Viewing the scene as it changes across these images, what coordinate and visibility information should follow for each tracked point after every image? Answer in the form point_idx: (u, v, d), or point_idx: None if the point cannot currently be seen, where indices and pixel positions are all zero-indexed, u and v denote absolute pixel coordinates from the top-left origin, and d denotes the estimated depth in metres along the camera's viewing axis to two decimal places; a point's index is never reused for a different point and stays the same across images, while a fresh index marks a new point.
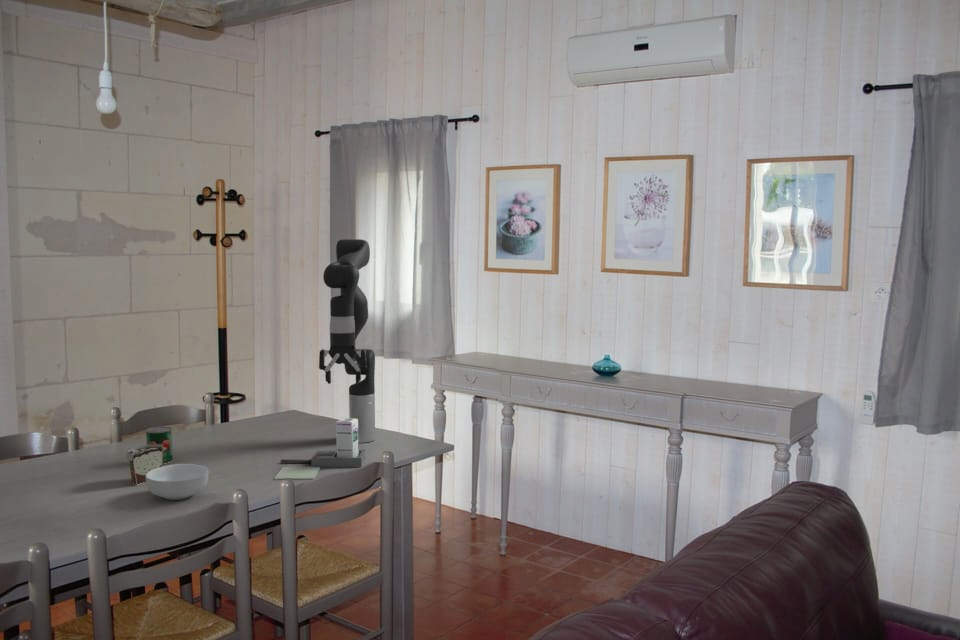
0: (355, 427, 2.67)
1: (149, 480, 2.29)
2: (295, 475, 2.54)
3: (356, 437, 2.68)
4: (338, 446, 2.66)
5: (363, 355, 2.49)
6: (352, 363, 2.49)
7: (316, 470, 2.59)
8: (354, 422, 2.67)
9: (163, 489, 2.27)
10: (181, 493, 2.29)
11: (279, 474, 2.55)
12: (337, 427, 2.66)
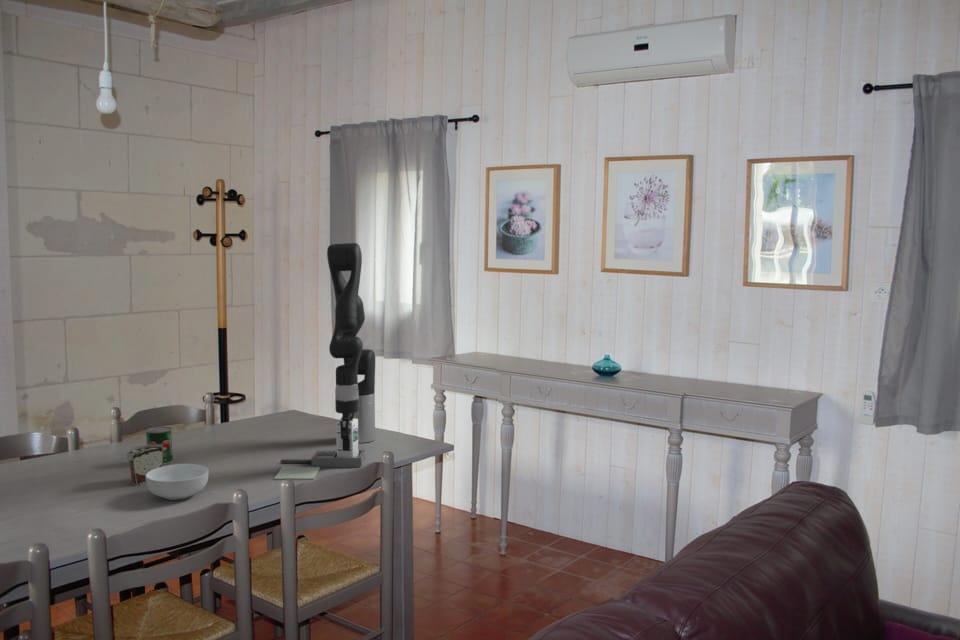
0: (355, 427, 2.67)
1: (149, 480, 2.29)
2: (295, 475, 2.54)
3: (356, 436, 2.68)
4: (338, 446, 2.66)
5: (353, 417, 2.74)
6: None
7: (316, 470, 2.59)
8: (354, 422, 2.67)
9: (163, 489, 2.27)
10: (181, 493, 2.29)
11: (279, 474, 2.55)
12: (337, 427, 2.66)
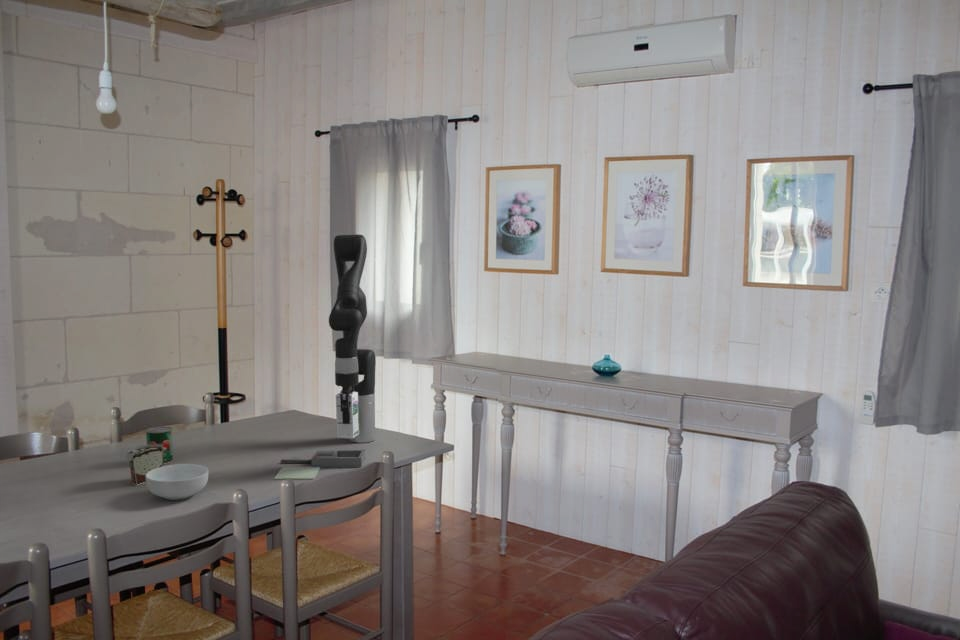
0: (355, 400, 2.66)
1: (149, 480, 2.29)
2: (295, 475, 2.54)
3: (356, 410, 2.67)
4: (338, 419, 2.65)
5: (353, 390, 2.73)
6: None
7: (316, 470, 2.59)
8: (354, 395, 2.66)
9: (163, 489, 2.27)
10: (181, 493, 2.29)
11: (279, 474, 2.55)
12: (337, 400, 2.65)
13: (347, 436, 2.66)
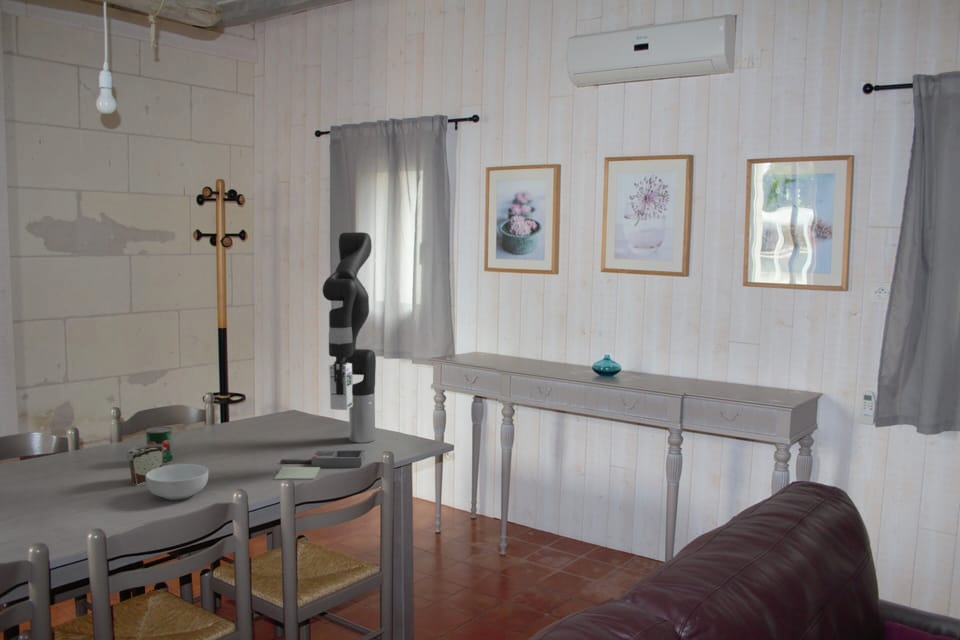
0: (349, 371, 2.64)
1: (149, 480, 2.29)
2: (295, 475, 2.54)
3: (350, 381, 2.65)
4: (332, 390, 2.63)
5: None
6: None
7: (316, 470, 2.59)
8: (348, 366, 2.63)
9: (163, 489, 2.27)
10: (181, 493, 2.29)
11: (279, 474, 2.55)
12: (331, 371, 2.62)
13: (341, 407, 2.63)
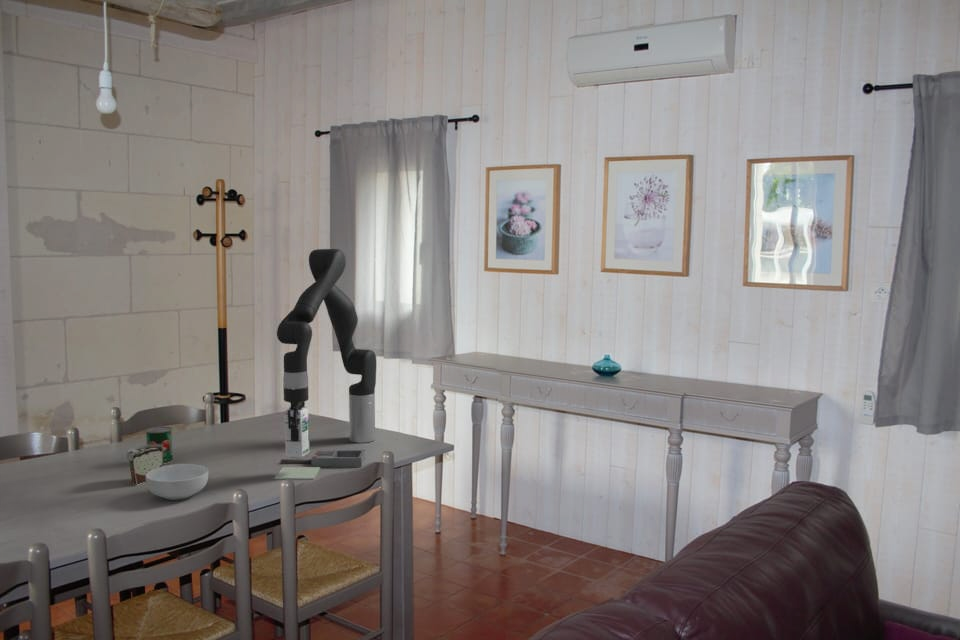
0: (304, 416, 2.55)
1: (149, 480, 2.29)
2: (295, 475, 2.54)
3: (305, 427, 2.55)
4: (286, 436, 2.54)
5: (304, 406, 2.61)
6: None
7: (316, 470, 2.59)
8: (303, 411, 2.54)
9: (163, 489, 2.27)
10: (181, 493, 2.29)
11: (279, 474, 2.55)
12: (285, 416, 2.53)
13: (296, 454, 2.54)
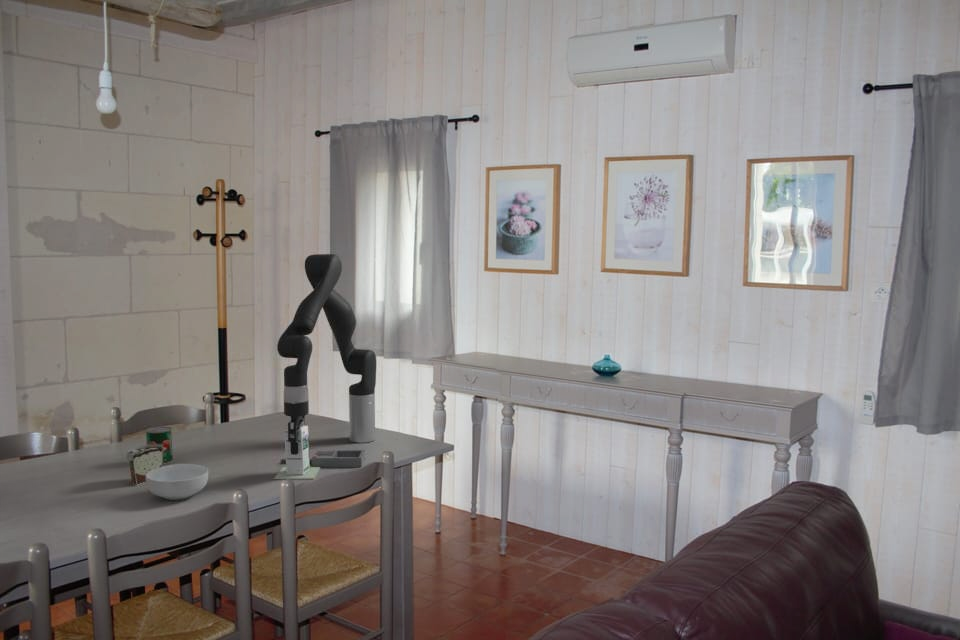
0: (305, 434, 2.55)
1: (149, 480, 2.29)
2: (295, 475, 2.54)
3: (306, 444, 2.56)
4: (287, 455, 2.54)
5: (304, 418, 2.62)
6: None
7: (316, 470, 2.59)
8: (304, 429, 2.55)
9: (163, 489, 2.27)
10: (181, 493, 2.29)
11: (279, 474, 2.55)
12: (286, 435, 2.54)
13: (297, 472, 2.54)
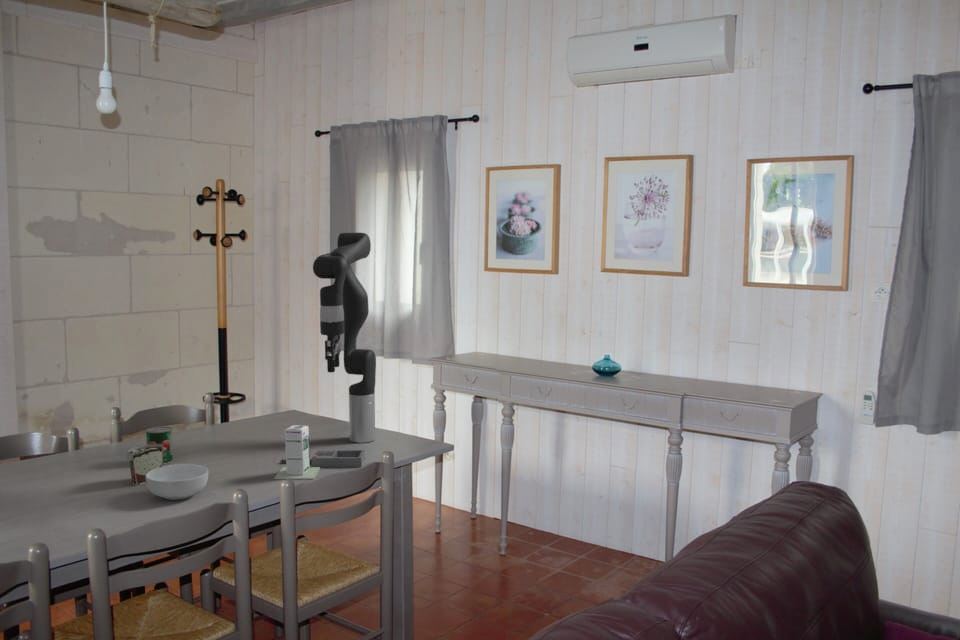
0: (305, 434, 2.55)
1: (149, 480, 2.29)
2: (295, 475, 2.54)
3: (306, 445, 2.56)
4: (287, 455, 2.54)
5: (339, 339, 2.68)
6: (339, 348, 2.65)
7: (316, 470, 2.59)
8: (304, 429, 2.55)
9: (163, 489, 2.27)
10: (181, 493, 2.29)
11: (279, 474, 2.55)
12: (286, 435, 2.53)
13: (297, 472, 2.54)
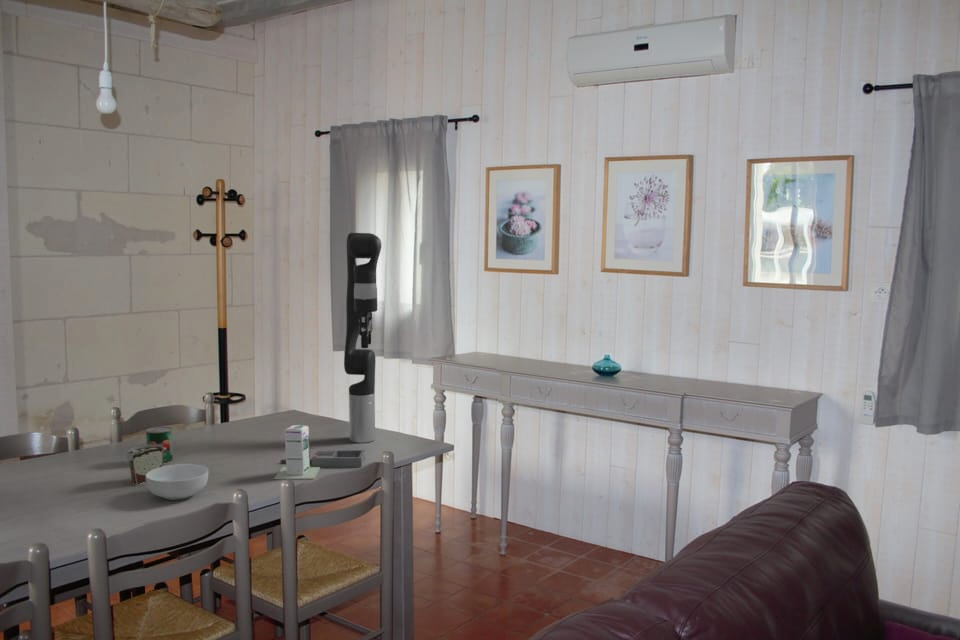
0: (305, 434, 2.55)
1: (149, 480, 2.29)
2: (295, 475, 2.54)
3: (306, 445, 2.56)
4: (287, 455, 2.54)
5: (371, 317, 2.75)
6: (372, 325, 2.72)
7: (316, 470, 2.59)
8: (304, 429, 2.55)
9: (163, 489, 2.27)
10: (181, 493, 2.29)
11: (279, 474, 2.55)
12: (286, 435, 2.53)
13: (297, 472, 2.54)
